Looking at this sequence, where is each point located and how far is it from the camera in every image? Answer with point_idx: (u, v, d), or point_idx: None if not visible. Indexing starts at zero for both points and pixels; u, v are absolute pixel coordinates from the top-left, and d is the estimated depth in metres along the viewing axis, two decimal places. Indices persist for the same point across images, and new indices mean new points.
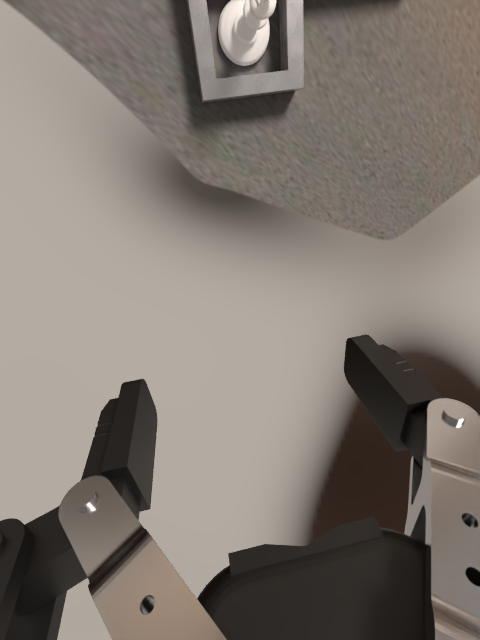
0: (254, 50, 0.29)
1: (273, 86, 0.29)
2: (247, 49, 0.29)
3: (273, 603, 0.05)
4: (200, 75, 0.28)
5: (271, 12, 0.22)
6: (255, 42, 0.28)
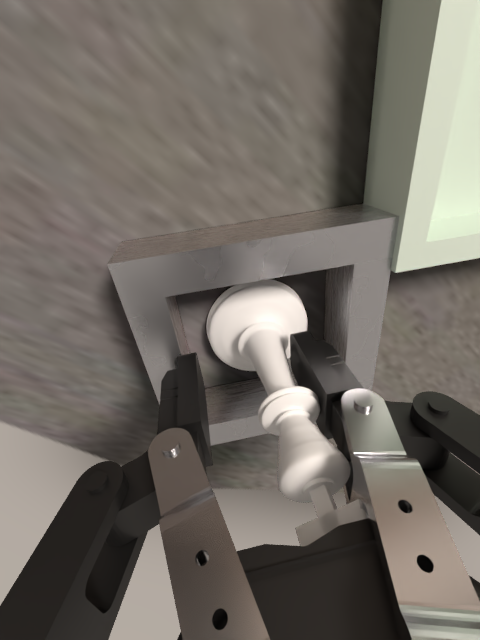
0: None
1: None
2: None
3: (273, 603, 0.05)
4: None
5: None
6: None
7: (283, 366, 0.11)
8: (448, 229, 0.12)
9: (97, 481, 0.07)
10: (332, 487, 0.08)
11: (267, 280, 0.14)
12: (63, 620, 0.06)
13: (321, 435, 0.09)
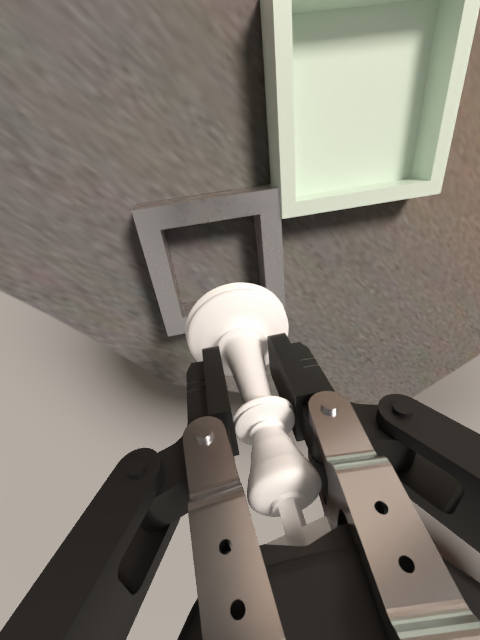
0: None
1: None
2: None
3: None
4: (163, 316, 0.24)
5: None
6: None
7: (259, 374, 0.11)
8: (312, 196, 0.22)
9: (136, 467, 0.08)
10: (302, 501, 0.08)
11: (246, 284, 0.13)
12: (96, 597, 0.06)
13: (293, 447, 0.08)
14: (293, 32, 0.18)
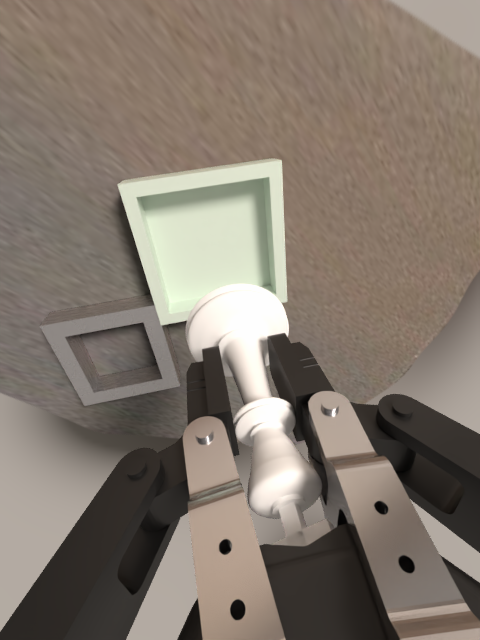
0: None
1: (150, 389, 0.32)
2: None
3: None
4: (78, 392, 0.30)
5: None
6: None
7: (259, 375, 0.11)
8: (185, 306, 0.28)
9: (136, 467, 0.08)
10: (303, 503, 0.08)
11: (246, 285, 0.13)
12: (96, 597, 0.06)
13: (293, 449, 0.08)
14: (152, 201, 0.24)
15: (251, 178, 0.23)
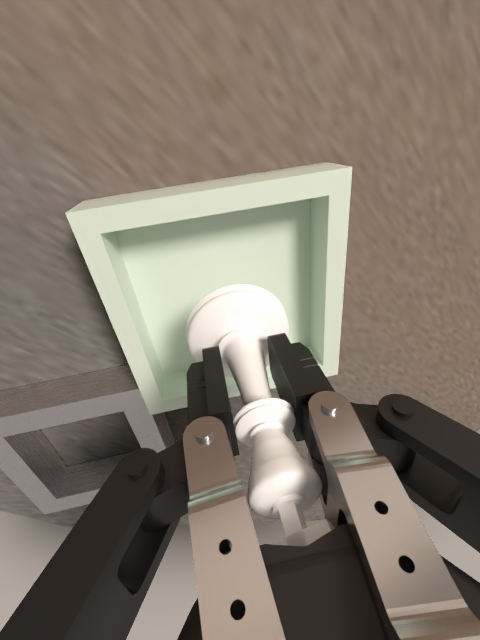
0: None
1: None
2: None
3: None
4: (33, 500, 0.21)
5: None
6: None
7: (259, 375, 0.11)
8: None
9: (135, 467, 0.08)
10: (303, 503, 0.08)
11: (246, 285, 0.13)
12: (96, 597, 0.06)
13: (293, 449, 0.08)
14: (132, 235, 0.15)
15: (299, 198, 0.13)
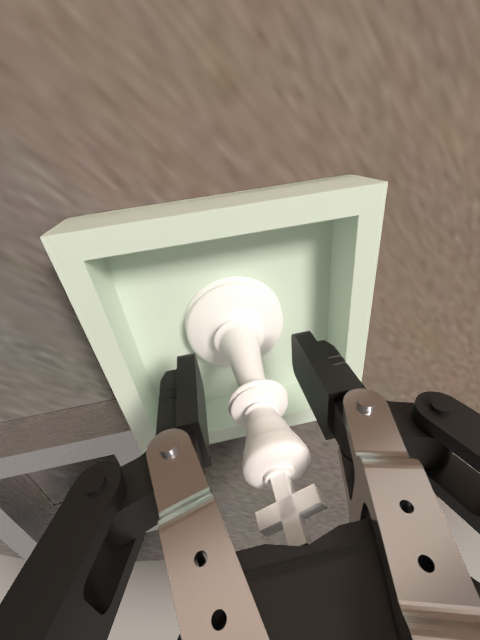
0: None
1: None
2: None
3: (273, 603, 0.05)
4: (13, 547, 0.19)
5: None
6: None
7: (254, 361, 0.12)
8: None
9: (94, 482, 0.07)
10: (293, 473, 0.08)
11: (242, 278, 0.14)
12: (61, 622, 0.06)
13: (284, 425, 0.09)
14: (124, 257, 0.13)
15: (323, 218, 0.11)
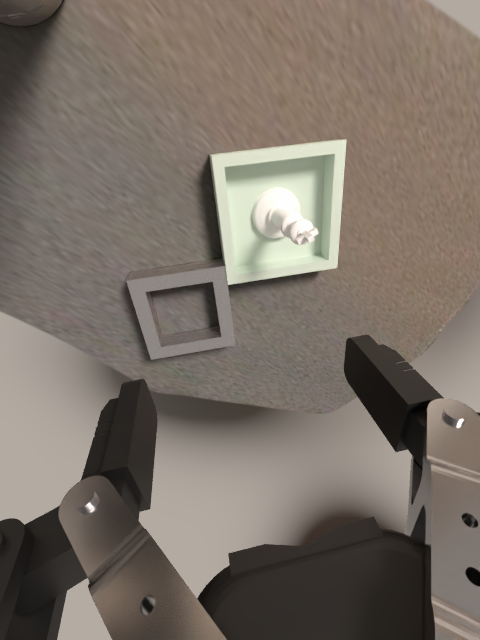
0: None
1: (209, 346, 0.35)
2: (279, 230, 0.31)
3: (273, 603, 0.05)
4: (147, 346, 0.34)
5: None
6: None
7: None
8: (249, 269, 0.32)
9: None
10: (307, 232, 0.24)
11: (282, 188, 0.30)
12: None
13: None
14: (231, 174, 0.28)
15: (320, 154, 0.27)
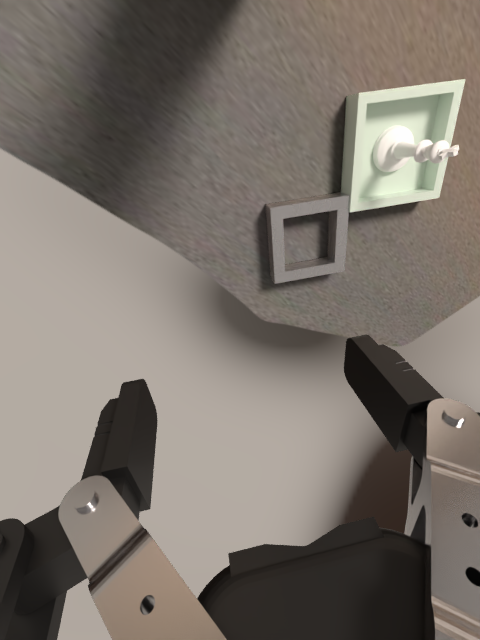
0: (400, 163, 0.37)
1: (323, 272, 0.41)
2: (395, 163, 0.36)
3: (273, 603, 0.05)
4: (274, 270, 0.40)
5: (443, 159, 0.30)
6: (402, 158, 0.36)
7: (416, 145, 0.33)
8: (366, 199, 0.38)
9: None
10: None
11: (401, 126, 0.35)
12: None
13: None
14: None
15: (442, 92, 0.32)
